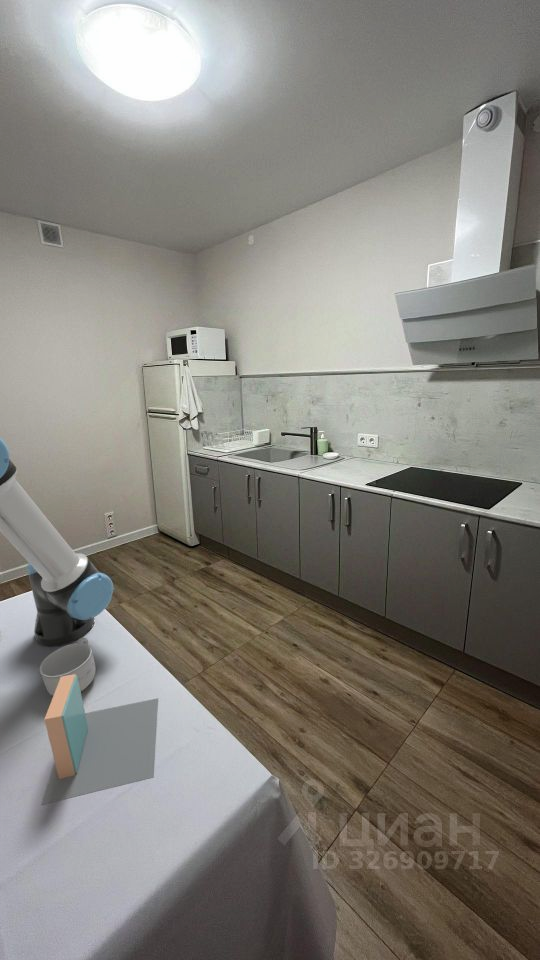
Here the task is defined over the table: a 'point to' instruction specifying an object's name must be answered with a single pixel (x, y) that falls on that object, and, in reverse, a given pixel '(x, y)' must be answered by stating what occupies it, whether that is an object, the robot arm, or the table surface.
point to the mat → (111, 751)
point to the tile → (67, 726)
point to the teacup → (69, 665)
